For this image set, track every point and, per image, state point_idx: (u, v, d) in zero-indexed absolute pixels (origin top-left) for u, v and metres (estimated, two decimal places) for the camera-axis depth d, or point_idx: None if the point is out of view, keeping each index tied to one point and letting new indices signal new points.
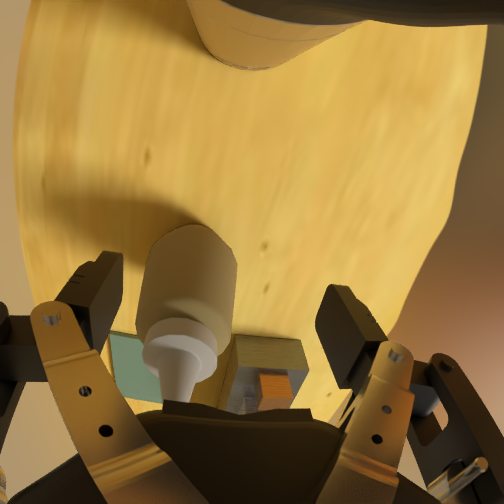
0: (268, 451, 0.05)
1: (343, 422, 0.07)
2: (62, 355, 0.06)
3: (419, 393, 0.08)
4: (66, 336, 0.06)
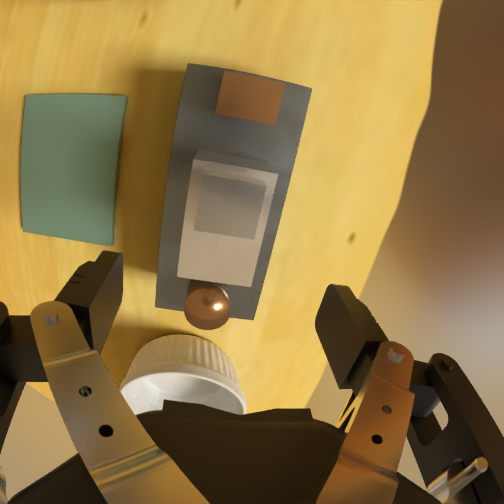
0: (268, 451, 0.05)
1: (343, 422, 0.07)
2: (62, 355, 0.06)
3: (419, 393, 0.08)
4: (66, 336, 0.06)
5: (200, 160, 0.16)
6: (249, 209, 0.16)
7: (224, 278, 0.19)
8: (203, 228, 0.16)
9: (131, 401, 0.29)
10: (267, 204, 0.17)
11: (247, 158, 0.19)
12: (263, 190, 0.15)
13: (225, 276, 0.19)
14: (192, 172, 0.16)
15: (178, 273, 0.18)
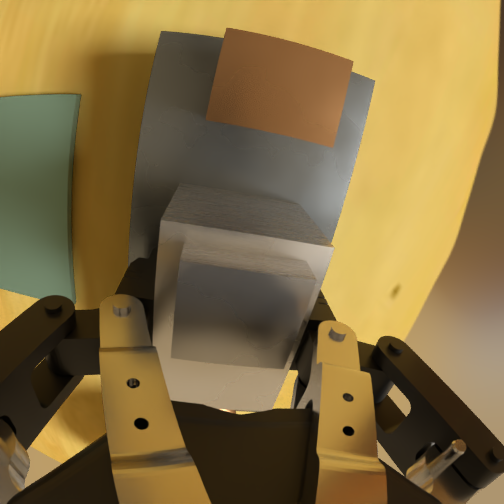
0: (268, 451, 0.05)
1: None
2: (122, 346, 0.06)
3: None
4: (143, 326, 0.07)
5: (176, 222, 0.07)
6: (278, 324, 0.08)
7: (229, 404, 0.10)
8: (187, 355, 0.08)
9: None
10: (309, 301, 0.09)
11: (266, 199, 0.11)
12: (309, 290, 0.07)
13: (230, 402, 0.10)
14: (160, 246, 0.08)
15: None
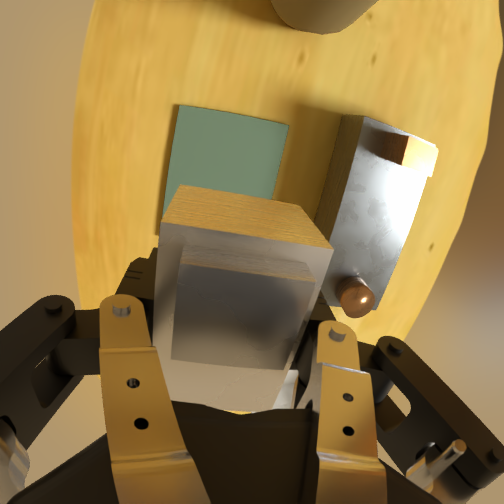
0: (268, 451, 0.05)
1: None
2: (122, 346, 0.06)
3: None
4: (143, 326, 0.07)
5: (175, 223, 0.08)
6: (278, 326, 0.08)
7: (228, 405, 0.11)
8: (187, 357, 0.08)
9: None
10: (308, 303, 0.09)
11: (265, 200, 0.11)
12: (308, 292, 0.07)
13: (230, 402, 0.10)
14: (160, 248, 0.08)
15: None
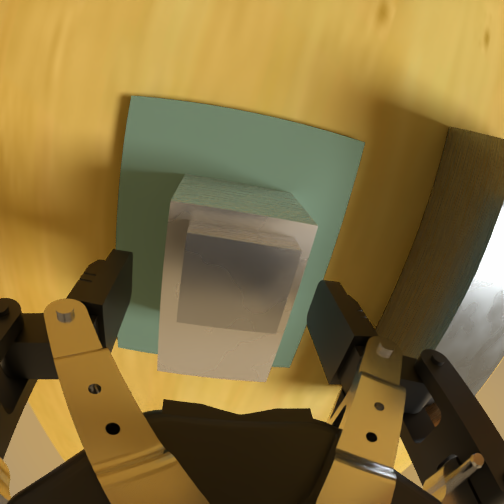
0: (268, 451, 0.05)
1: (335, 420, 0.07)
2: (74, 352, 0.06)
3: (409, 389, 0.08)
4: (81, 333, 0.06)
5: (183, 202, 0.09)
6: (270, 290, 0.09)
7: (227, 373, 0.12)
8: (191, 319, 0.09)
9: None
10: (297, 274, 0.10)
11: (261, 188, 0.13)
12: (295, 259, 0.09)
13: (228, 371, 0.12)
14: (170, 223, 0.09)
15: (159, 367, 0.11)
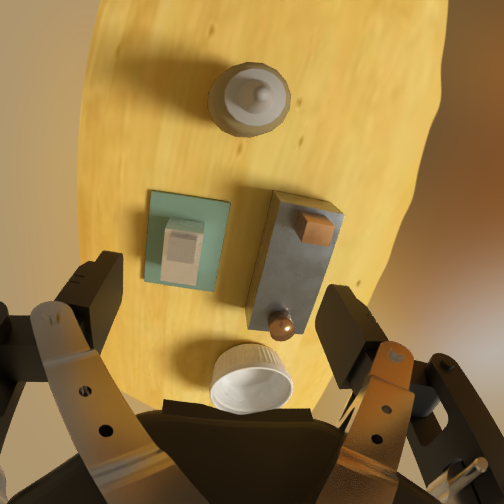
0: (268, 451, 0.05)
1: (343, 422, 0.07)
2: (62, 355, 0.06)
3: (419, 393, 0.08)
4: (66, 336, 0.06)
5: (168, 228, 0.35)
6: (190, 251, 0.35)
7: (182, 281, 0.38)
8: (170, 259, 0.36)
9: (215, 389, 0.47)
10: (199, 247, 0.36)
11: (194, 221, 0.39)
12: (195, 243, 0.35)
13: (183, 280, 0.38)
14: (165, 234, 0.35)
15: (160, 279, 0.38)
